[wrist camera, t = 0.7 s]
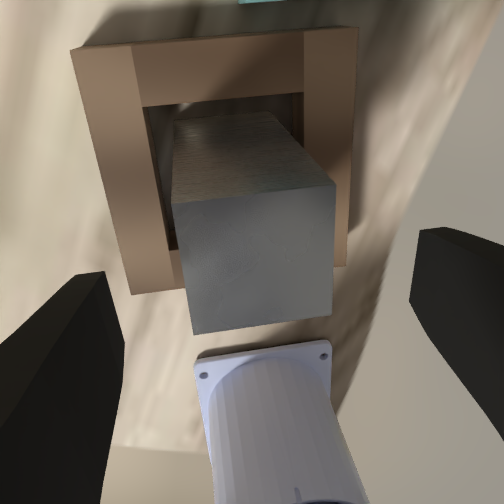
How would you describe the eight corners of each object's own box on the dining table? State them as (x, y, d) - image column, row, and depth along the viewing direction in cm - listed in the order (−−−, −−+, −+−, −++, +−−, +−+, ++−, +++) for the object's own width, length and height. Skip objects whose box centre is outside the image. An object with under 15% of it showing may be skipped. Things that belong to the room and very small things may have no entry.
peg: (272, 198, 20) (331, 314, 12) (188, 208, 20) (193, 335, 12) (268, 110, 18) (336, 184, 10) (174, 120, 18) (170, 204, 10)
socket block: (332, 245, 22) (345, 265, 20) (135, 271, 21) (131, 295, 19) (340, 25, 17) (358, 27, 15) (81, 46, 16) (69, 50, 14)
